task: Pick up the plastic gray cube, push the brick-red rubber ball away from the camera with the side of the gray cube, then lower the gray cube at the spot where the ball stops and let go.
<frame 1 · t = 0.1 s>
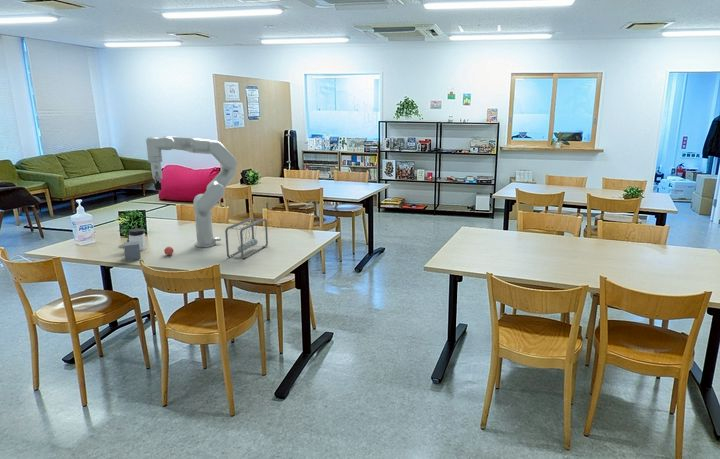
hand: (158, 188, 289), 37 cm above the table, tool pointing down, fingers open, 9 cm apart
jar: (138, 249, 298), on the table
ball: (168, 251, 286), on the table
gray cube: (133, 258, 281), on the table
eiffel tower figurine: (129, 246, 307), on the table
newton's cradle: (248, 252, 294), on the table
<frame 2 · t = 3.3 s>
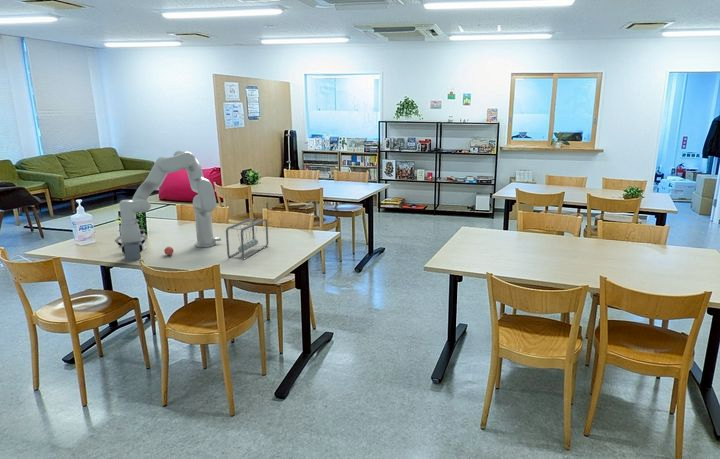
hand: (132, 252, 280), 4 cm above the table, tool pointing down, fingers closed on gray cube, 7 cm apart
gray cube: (133, 258, 281), on the table, touching gripper
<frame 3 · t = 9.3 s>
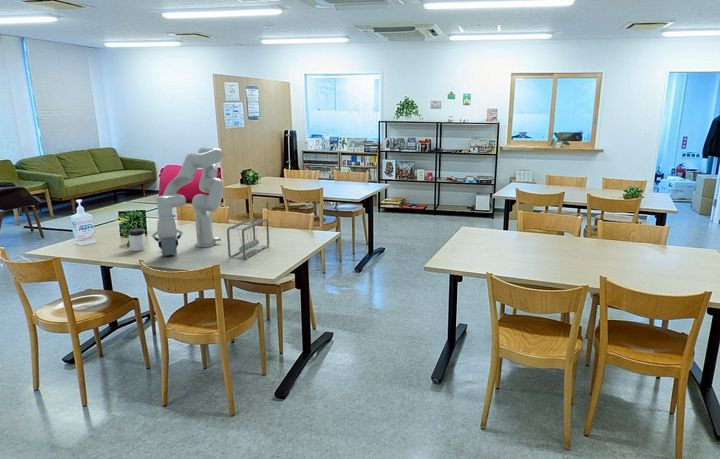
hand: (168, 247, 285), 5 cm above the table, tool pointing down, fingers closed on gray cube, 7 cm apart
ball: (166, 246, 296), on the table
gray cube: (169, 253, 286), point 1 cm above the table, touching gripper
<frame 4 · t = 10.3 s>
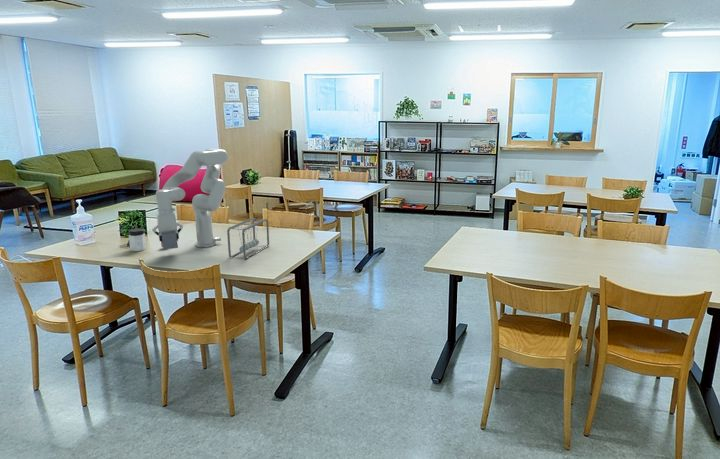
hand: (169, 241, 285), 8 cm above the table, tool pointing down, fingers closed on gray cube, 7 cm apart
ball: (165, 244, 300), on the table
gray cube: (170, 246, 286), point 5 cm above the table, touching gripper
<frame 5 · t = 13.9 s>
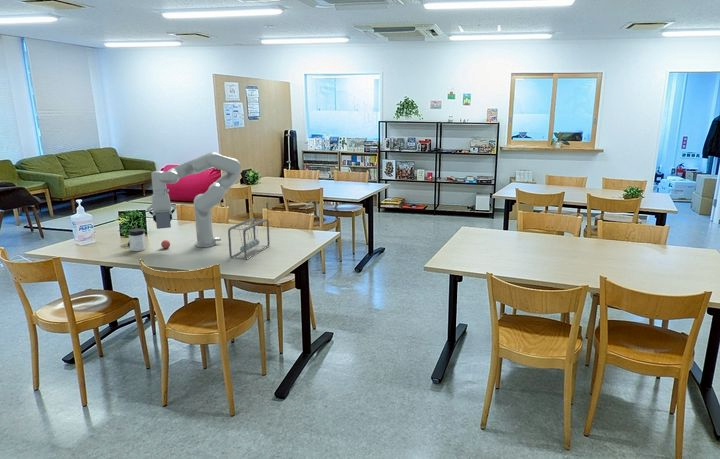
hand: (163, 221, 297), 17 cm above the table, tool pointing down, fingers closed on gray cube, 7 cm apart
gray cube: (163, 226, 297), point 13 cm above the table, touching gripper
when the fingers open (4 cm above the table, at t = 16.9 s): gray cube stays where it is, on the table.
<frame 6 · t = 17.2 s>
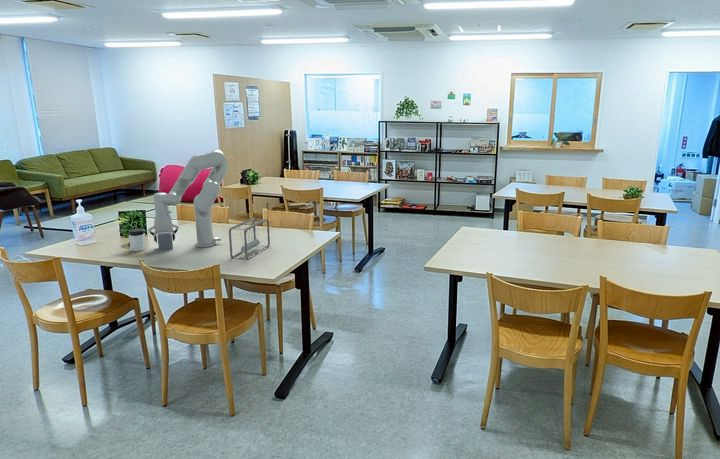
hand: (164, 241, 300), 4 cm above the table, tool pointing down, fingers open, 9 cm apart
gray cube: (165, 248, 301), on the table
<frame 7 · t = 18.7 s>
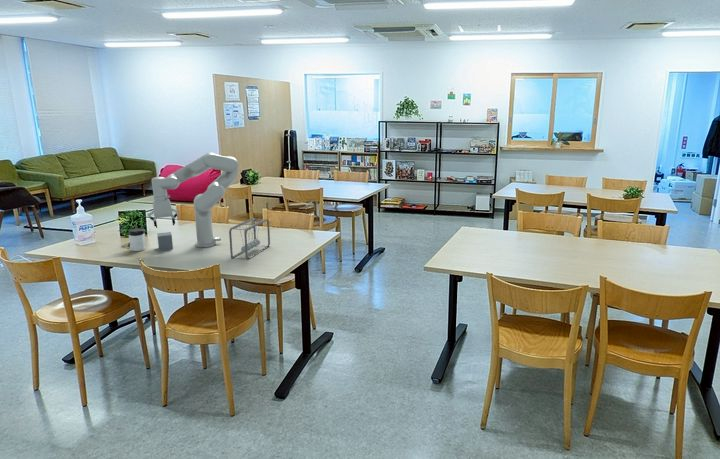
hand: (165, 226, 298), 14 cm above the table, tool pointing down, fingers open, 9 cm apart
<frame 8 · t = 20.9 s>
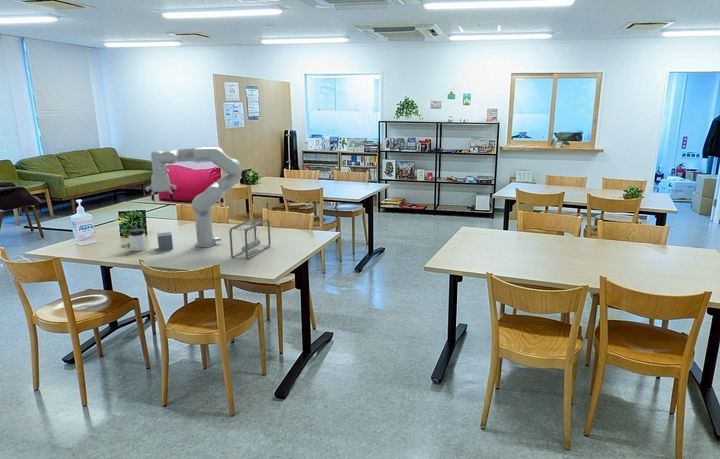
hand: (162, 200, 298), 28 cm above the table, tool pointing down, fingers open, 9 cm apart
at the end: ball 0.2 cm from the gray cube (horizontally); gray cube on the table; ball moved 15.7 cm from its start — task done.
